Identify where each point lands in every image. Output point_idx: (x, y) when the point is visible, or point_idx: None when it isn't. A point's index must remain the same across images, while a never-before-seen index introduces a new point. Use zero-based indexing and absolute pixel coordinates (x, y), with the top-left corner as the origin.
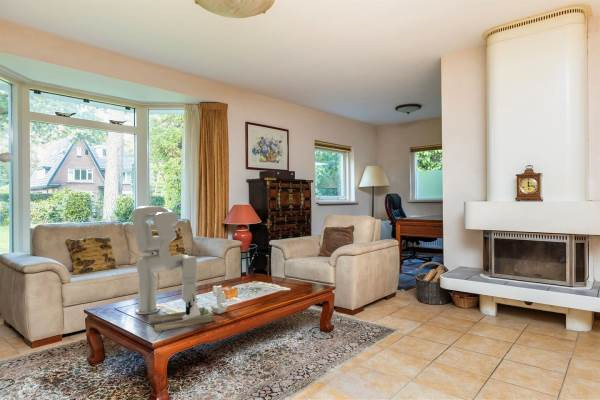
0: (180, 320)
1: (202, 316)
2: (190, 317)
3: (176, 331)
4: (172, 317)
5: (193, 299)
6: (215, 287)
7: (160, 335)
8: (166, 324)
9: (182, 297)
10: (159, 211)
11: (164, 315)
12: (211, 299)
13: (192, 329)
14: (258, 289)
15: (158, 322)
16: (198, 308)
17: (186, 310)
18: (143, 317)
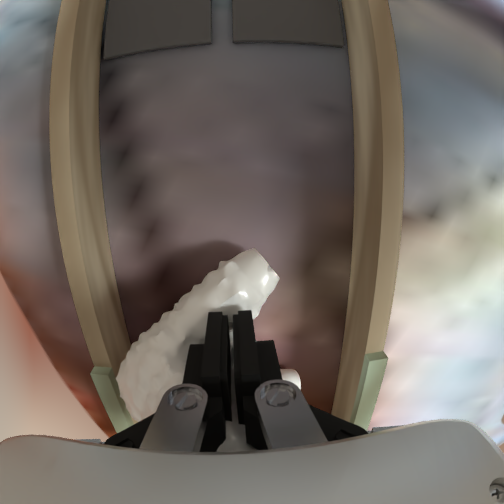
0: (72, 197)
1: (110, 413)
2: (151, 327)
3: (11, 140)
4: (363, 156)
5: None
6: None
7: (9, 28)
8: (58, 41)
9: (414, 479)
10: None
11: (376, 57)
12: (493, 432)
13: (11, 269)
14: None
15: (319, 11)
16: None
17: (211, 342)
18: (485, 9)
